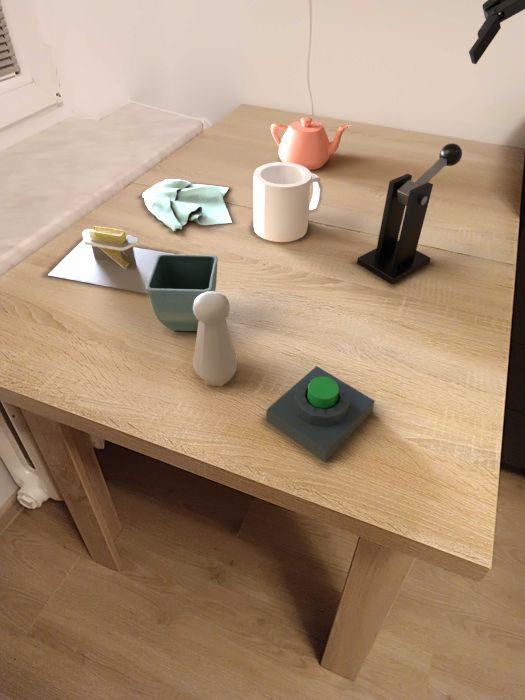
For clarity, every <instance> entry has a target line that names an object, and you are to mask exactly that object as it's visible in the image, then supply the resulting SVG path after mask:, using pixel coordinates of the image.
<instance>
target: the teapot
mask: <svg viewBox="0 0 525 700" xmlns="http://www.w3.org/2000/svg"><path fill="white" fill-rule="evenodd" d="M350 127H351V124H345V125H341V126H339V127H338V128H337V131H336V133H335V136H334V139H332V141H330V139H329V136H328V134H327V131H326V130H325V129H326V128H324V126H323V123H321V122H319V121H316V120H313V119H312V117H307V116H305V117H302V118H300V119H299V120H295V121H293V122H291V123H290V124H289V126H286V125H283V124H281V123H276V122H275V123H272V124H271V125H270V131H271V132H270V133H271V135H272V138H273V139H274V141H275V143H276V145H277V146H278V157H279V159H280V160H281V162H288V163H294V164H299V165H301V166H304V167H306V168H307V169H308V170H309V171H313V170H318V169H320V168H321V167H323V166H324V165H325V164H326V163H327V162H328V161H329V159H330V157H331V155H333V154H335V153H336V152H337V150H338V149H339V146H340V143H341V139H342V136H343V133H344V132H345V131H346V130H347V129H348V128H350ZM279 130H282V131H285V132H284V134H283V136H282V138H281V139H280V136H279V132H278V131H279Z"/></svg>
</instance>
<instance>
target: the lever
mask: <svg viewBox="0 0 525 700" xmlns="http://www.w3.org/2000/svg"><path fill="white" fill-rule="evenodd" d="M438 156H439V158H438V160H436V161H435V163H433V164H432V165H431V166H430V167H429V168H428V169H427V170H426V171H424V173H422V174H421V176H419V177H418V178H417V179H416V180H415V181H412V179H411V180H408V181H407V182H406V183H405V184H404V185H403V186H402V187H401V188H399V189H398V190H397V196H398V202H399V203H401V204H403V205H405V207H406V206H407V202H408V198H409V193H410V190H412V189H414V188H416V187H419V186H421V185H423V184H425V183H427V182H429V183H430V181H431V180H432V179H433V178H434V177H435V176H436V175H437V174H439V172H440V171H441V170H444V168H445V167H452V166H455V165H457V164H458V163H459V162H460V161H461V160H462V157H463V150H462V147H461V146H460V145H459V144H457V143H453V142H450V143H447V144H445V145H444V146H443V147H442V148H441V150H440V152H439V155H438Z"/></svg>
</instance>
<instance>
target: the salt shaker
mask: <svg viewBox="0 0 525 700" xmlns="http://www.w3.org/2000/svg"><path fill="white" fill-rule="evenodd" d="M230 310H231V306H230V301H229V299H228V297H227V296H226V295H225V294H223V293H221V292H219V291H216V290H215V291H209V292H205V293H202V294H200V295H199V296H198V297H197V298H196V299H195V300H194V304H193V311H194V314H195V316H196V318H197V319H198V320H199V322H198V330H197V331H196V339H195V347H194V353H193V360H192V361H193V362H192V367H193V368H194V371H195V373H196V375H197V376H198V377H200V378H201V379H202V381H204V383H205V384H206V385H207V386H212V387H213V386H214V387H223V386H224V385H225V384H227V383H228V382H230V381H231V380H232V379H233V378H234V375H235V373H236V371H237V368H238V363H239V360H238V357H237V354H236V350H235V346H234V344H233V340H232V337H231V334H230V330H229V327H228V324H227V323H228V322H227V320H226V319H227V318H228V317H229V315H230Z"/></svg>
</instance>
